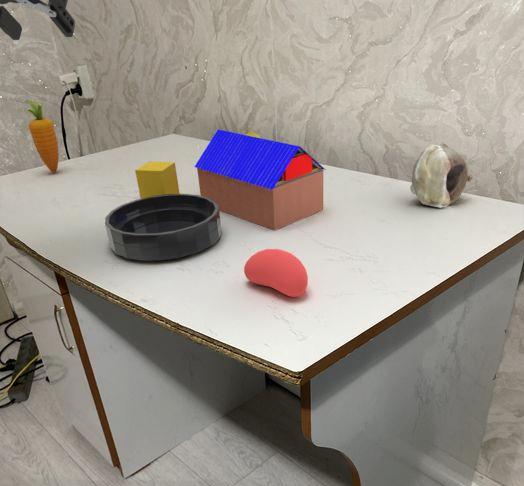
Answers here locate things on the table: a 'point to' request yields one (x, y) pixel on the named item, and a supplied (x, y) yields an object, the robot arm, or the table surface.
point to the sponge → (157, 179)
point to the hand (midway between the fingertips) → (44, 33)
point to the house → (260, 179)
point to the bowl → (163, 226)
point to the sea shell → (439, 176)
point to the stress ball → (277, 271)
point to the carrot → (44, 137)
